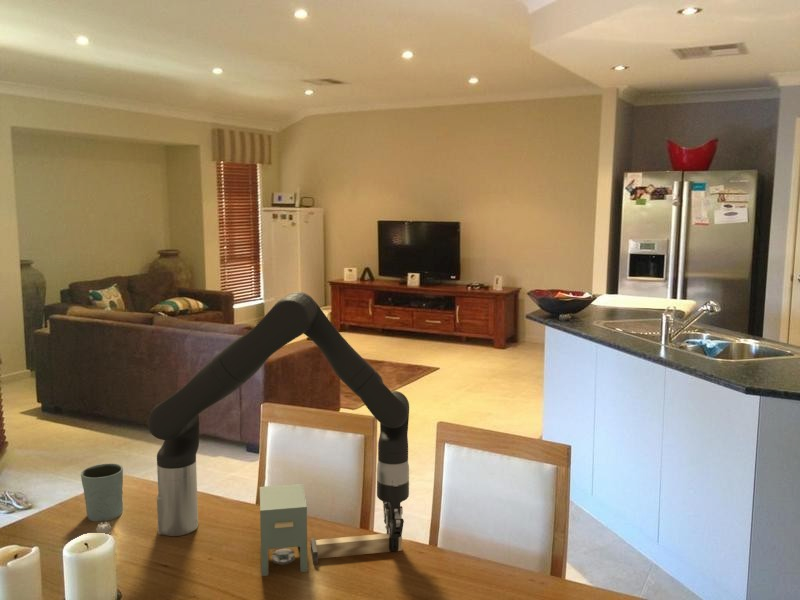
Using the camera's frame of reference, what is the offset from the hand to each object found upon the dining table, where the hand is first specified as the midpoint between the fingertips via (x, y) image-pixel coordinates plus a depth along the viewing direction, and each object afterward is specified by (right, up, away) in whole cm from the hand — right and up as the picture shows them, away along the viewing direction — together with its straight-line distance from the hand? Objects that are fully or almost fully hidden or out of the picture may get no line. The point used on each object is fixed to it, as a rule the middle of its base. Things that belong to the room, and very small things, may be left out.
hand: (392, 547), depth 162 cm
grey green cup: (-76, +2, +17) cm, 78 cm away
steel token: (-25, -1, -5) cm, 26 cm away
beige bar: (-8, -1, -2) cm, 8 cm away
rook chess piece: (-66, -1, -5) cm, 66 cm away
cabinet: (-25, -1, -5) cm, 26 cm away
